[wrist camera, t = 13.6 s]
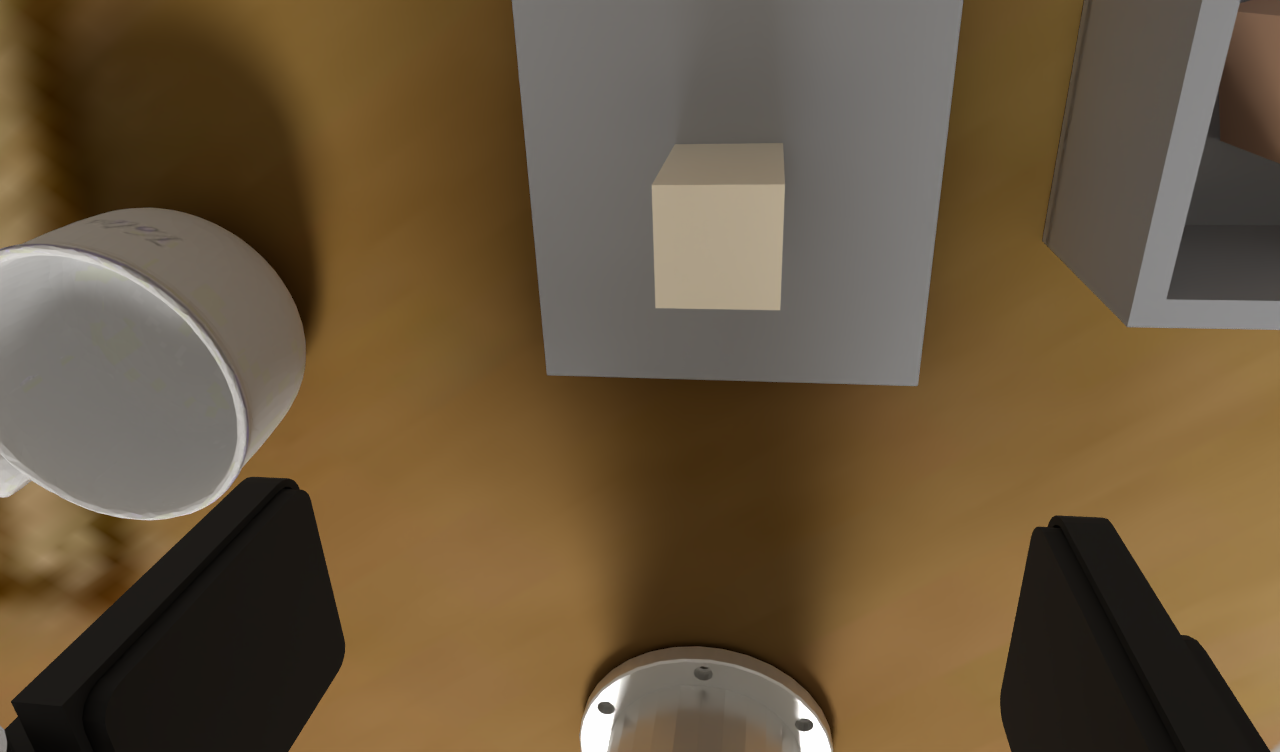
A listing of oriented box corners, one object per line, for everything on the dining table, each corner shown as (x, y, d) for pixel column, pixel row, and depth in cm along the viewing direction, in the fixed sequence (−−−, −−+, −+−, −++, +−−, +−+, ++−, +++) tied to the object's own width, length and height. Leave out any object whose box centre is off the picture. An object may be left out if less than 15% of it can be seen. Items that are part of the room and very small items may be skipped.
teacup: (240, 142, 32) (91, 191, 25) (390, 377, 36) (296, 478, 29) (2, 276, 37) (-184, 351, 29) (157, 475, 40) (25, 584, 33)
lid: (909, 363, 33) (947, 473, 26) (558, 354, 35) (502, 454, 28) (955, -39, 27) (1020, -41, 19) (526, -21, 29) (444, -18, 22)
